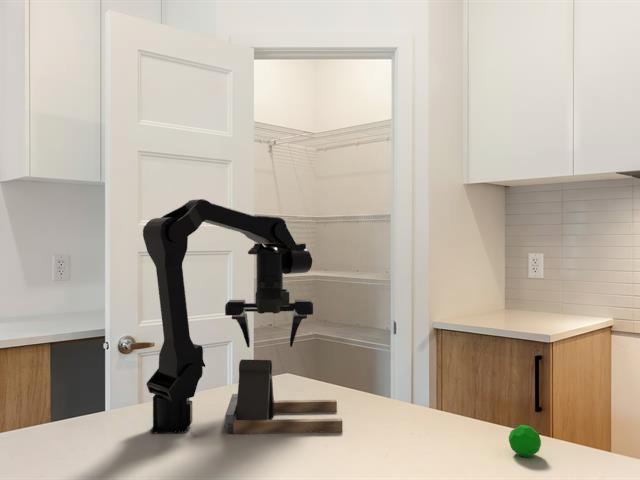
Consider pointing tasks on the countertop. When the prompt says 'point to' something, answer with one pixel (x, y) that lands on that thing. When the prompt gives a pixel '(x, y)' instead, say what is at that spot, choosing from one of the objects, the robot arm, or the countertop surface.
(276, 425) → the guide track
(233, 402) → the end stop
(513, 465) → the countertop surface
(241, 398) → the phone stand
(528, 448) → the polyhedron
